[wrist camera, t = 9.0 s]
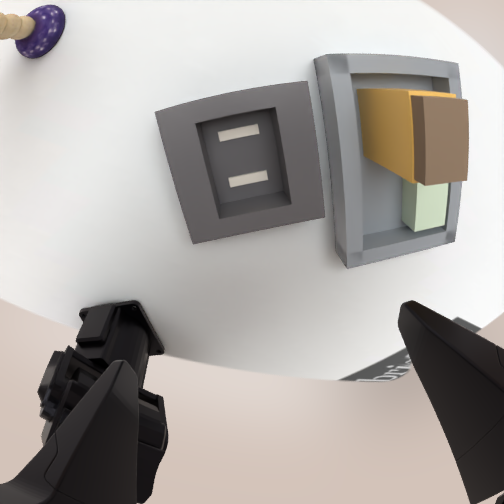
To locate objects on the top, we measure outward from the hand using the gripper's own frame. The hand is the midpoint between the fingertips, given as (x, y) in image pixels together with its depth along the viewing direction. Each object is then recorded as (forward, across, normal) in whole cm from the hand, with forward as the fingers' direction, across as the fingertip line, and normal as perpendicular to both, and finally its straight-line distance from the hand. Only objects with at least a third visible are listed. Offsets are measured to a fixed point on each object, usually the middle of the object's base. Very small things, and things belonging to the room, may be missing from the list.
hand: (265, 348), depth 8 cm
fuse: (+12, -13, +1) cm, 18 cm away
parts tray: (+12, -11, -2) cm, 17 cm away
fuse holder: (+12, -1, -3) cm, 13 cm away
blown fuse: (+12, -10, -4) cm, 16 cm away
